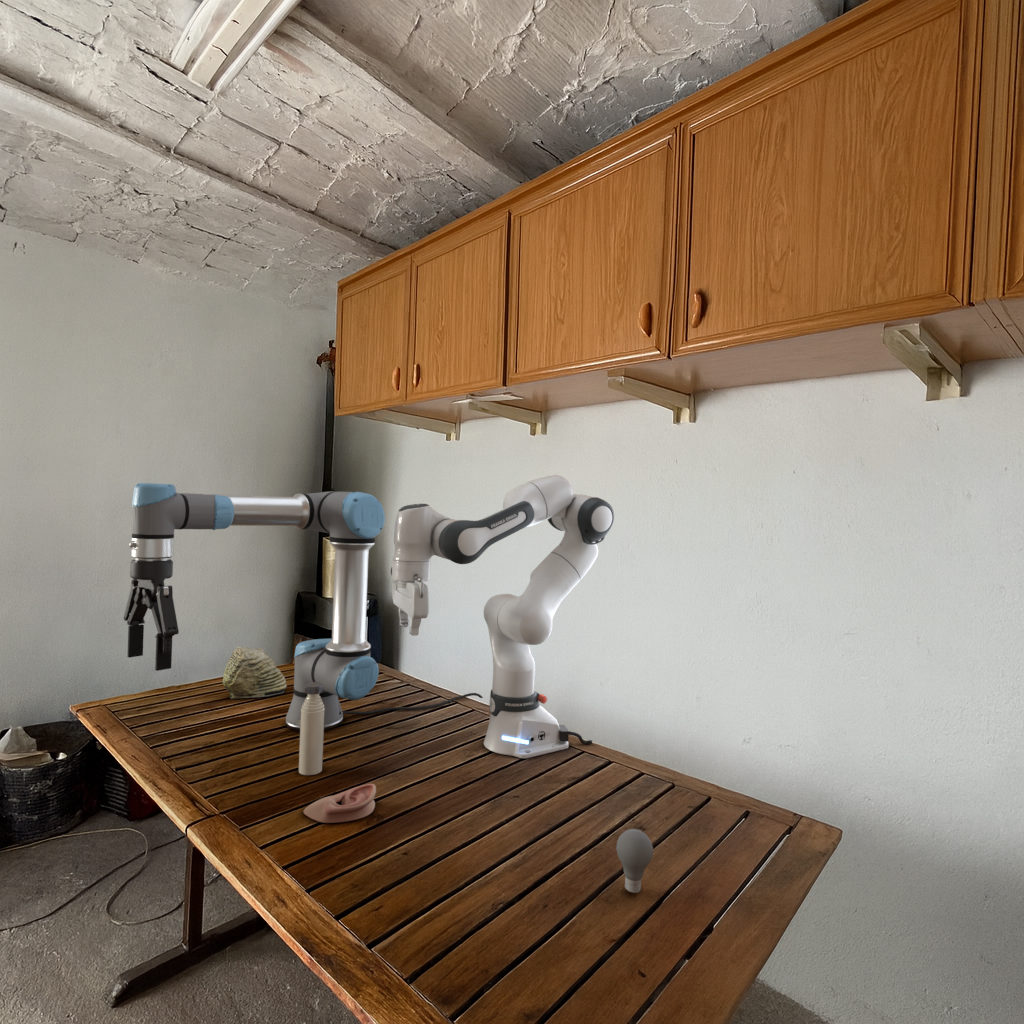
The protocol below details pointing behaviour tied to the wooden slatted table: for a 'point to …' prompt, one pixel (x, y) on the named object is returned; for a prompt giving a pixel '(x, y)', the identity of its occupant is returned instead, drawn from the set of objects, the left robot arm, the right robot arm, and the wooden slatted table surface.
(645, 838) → the light bulb
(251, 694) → the fossil
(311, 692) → the cap
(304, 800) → the wooden slatted table surface
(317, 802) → the anatomical model
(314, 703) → the bottle
